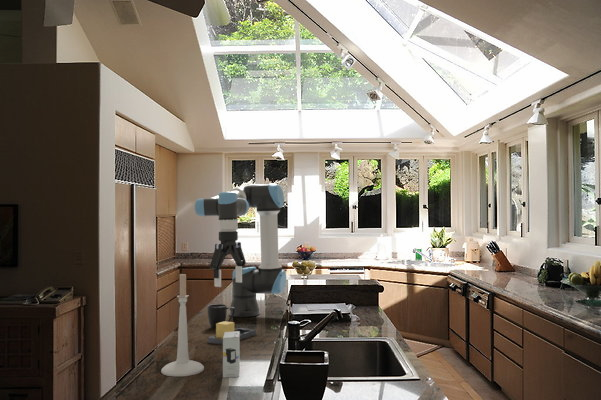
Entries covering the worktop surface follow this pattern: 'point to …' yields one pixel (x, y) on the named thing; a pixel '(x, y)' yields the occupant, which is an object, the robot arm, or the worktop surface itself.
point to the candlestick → (182, 342)
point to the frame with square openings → (243, 332)
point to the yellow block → (224, 328)
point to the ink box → (231, 354)
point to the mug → (218, 314)
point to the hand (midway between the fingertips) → (228, 284)
